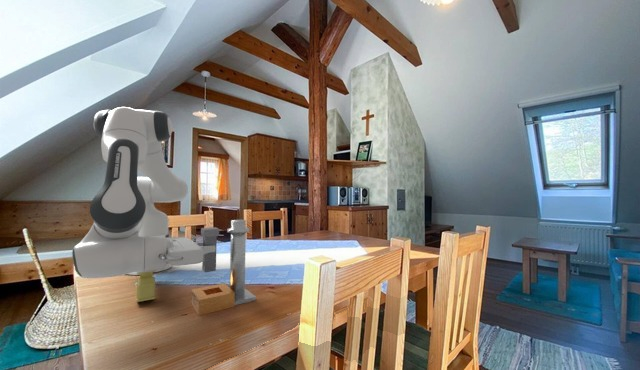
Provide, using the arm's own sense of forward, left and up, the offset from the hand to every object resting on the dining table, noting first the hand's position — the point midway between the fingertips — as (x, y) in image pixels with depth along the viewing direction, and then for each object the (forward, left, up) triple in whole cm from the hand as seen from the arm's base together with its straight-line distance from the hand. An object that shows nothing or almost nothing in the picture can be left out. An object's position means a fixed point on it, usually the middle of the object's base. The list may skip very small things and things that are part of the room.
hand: (212, 246), depth 77 cm
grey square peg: (-1, -1, -7) cm, 7 cm away
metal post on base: (+3, +2, -17) cm, 17 cm away
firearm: (-26, +8, -17) cm, 32 cm away
